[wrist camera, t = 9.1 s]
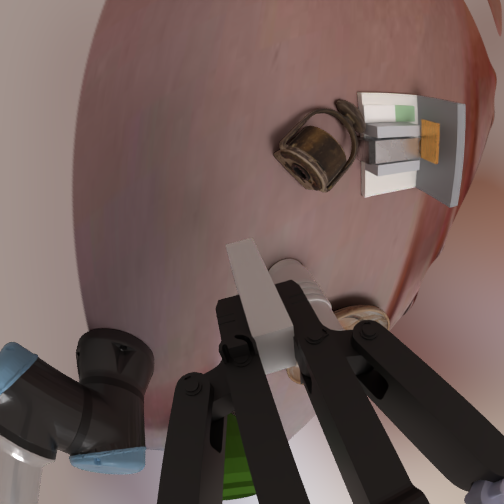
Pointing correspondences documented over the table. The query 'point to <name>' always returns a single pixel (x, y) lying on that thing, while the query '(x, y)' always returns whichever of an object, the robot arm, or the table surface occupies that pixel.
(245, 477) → the vase
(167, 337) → the table surface
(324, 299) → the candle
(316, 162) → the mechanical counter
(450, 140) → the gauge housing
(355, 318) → the ceramic bowl
